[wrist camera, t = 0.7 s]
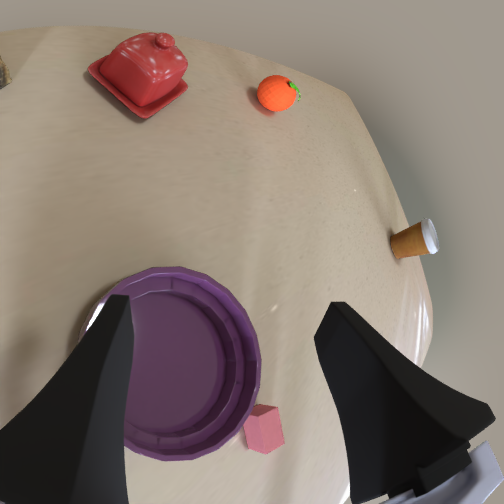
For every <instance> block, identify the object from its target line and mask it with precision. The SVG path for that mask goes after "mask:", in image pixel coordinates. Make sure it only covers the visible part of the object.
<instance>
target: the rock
mask: <svg viewBox="0 0 504 504" xmlns="http://www.w3.org/2000/svg"><path fill="white" fill-rule="evenodd" d="M11 80H12V79H11V78H10V77H9V70H8V69H7V67H6V65H5V64H4V62H3V61H2V59H1V56H0V89H1V88H2V87H4V86H5V85H7V84H8V83H11Z"/></svg>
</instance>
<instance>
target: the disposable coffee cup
mask: <svg viewBox="0 0 504 504" xmlns="http://www.w3.org/2000/svg"><path fill="white" fill-rule="evenodd" d="M390 242H391V248H392V251H393V253H394V255H395V257H396V258H404V257H411V256H417V255H423V254H428V253H431V254H432V253H433V254H435V252H437V251H438V250H439V243H438V238H437V234H436V231H435V228H434V225H433V223H432V221H431V220H430V219H425V218H424V219H423V220H422V221H421V222H419V223H417V224H415V225H413V226H411V227H409V228H407V229H405V230H403V231H401V232H399V233H397V234H395V235H393V236H391V239H390Z"/></svg>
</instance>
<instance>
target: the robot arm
mask: <svg viewBox="0 0 504 504" xmlns="http://www.w3.org/2000/svg"><path fill="white" fill-rule="evenodd" d="M134 336H135V335H134V329H133V322H132V314H131V306H130V297H129V295H119V294H111V295H110V296H109V298H108V299H107V301H106V302H105V304H104V306H103V307H102V309H101V310H100V312H99V314H98V315H97V317H96V318H95V320H94V321H93V323H92V324H91V326H90V327H89V329H88V330H87V332H86V333H85V334H84V336H83V337H82V339H81V340H80V342H79V343H78V345H77V346H76V347H75V349H74V350H73V351H72V353H71V354H70V355H69V357H68V358H67V359H66V361H65V362H64V363H63V365H62V366H61V367H60V369H59V370H58V371H57V372H56V374H55V375H54V376H53V377H52V378H51V380H50V381H49V382H48V383H47V384H46V385H45V387H44V388H43V389H42V390H41V391H40V392H39V393H38V394H37V395H36V396H35V397H34V399H33V400H32V401H31V402H30V403H29V404H28V405H27V406H26V407H25V408H24V409H23V410H22V411H21V412H19V413H18V414H17V415H16V416H15V417H14V418H13V419H12V420H11V421H10V422H9V423H8V424H7V425H5V426H4V427H3V428H2V429H1V430H0V504H129V502H128V495H127V486H126V475H125V460H124V417H125V409H126V401H127V394H128V388H129V381H130V375H131V369H132V363H133V350H134ZM314 341H315V346H316V351H317V355H318V359H319V362H320V365H321V368H322V370H323V373H324V376H325V378H326V381H327V384H328V386H329V389H330V392H331V394H332V397H333V399H334V402H335V405H336V408H337V411H338V414H339V418H340V422H341V426H342V430H343V435H344V440H345V446H346V451H347V458H348V466H349V477H350V498H351V501H352V504H361V503H363V502H367V501H369V500H372V499H375V498H378V497H380V496H382V495H385V494H388V497H389V499H388V500H386V501H384V502H382V503H379V504H483V502H484V501H485V500H486V498H487V497H488V496H489V495H490V494H491V493H492V492H493V490H494V489H495V488H496V487H497V486H498V485H499V484H500V483H501V482H502V481H503V480H504V477H503V474H502V472H501V470H500V468H499V465H498V463H497V460H496V458H495V456H494V454H493V451H492V449H491V447H490V445H489V443H488V441H485V442H483V443H482V444H480V445H479V446H477V447H476V448H474V449H473V450H472V451H471V452H469V453H468V451H467V449H468V448H470V446H471V445H470V443H469V440H470V439H471V438H473V437H475V436H476V435H477V434H479V433H480V432H481V431H483V430H484V429H485V428H487V427H488V426H489V425H490V424H492V423H493V422H494V421H495V419H496V418H495V416H494V414H493V412H492V411H491V409H490V407H489V406H488V404H486V403H484V402H481V401H479V400H476V399H474V398H471V397H469V396H466V395H464V394H462V393H460V392H458V391H456V390H454V389H452V388H450V387H449V386H447V385H445V384H443V383H442V382H440V381H438V380H437V379H435V378H434V377H432V376H431V375H429V374H427V373H426V372H425V371H423V370H422V369H421V368H419V367H418V366H417V365H415V364H414V363H413V362H411V361H410V360H409V359H408V358H406V357H405V356H404V355H403V354H402V353H400V352H399V351H398V350H397V349H396V348H395V347H393V346H392V345H391V344H390V343H389V342H388V341H387V340H386V339H385V338H384V337H382V336H381V335H380V334H379V333H378V332H377V331H376V330H375V329H374V328H373V327H372V326H371V325H370V324H369V323H368V322H367V321H366V320H364V319H363V318H362V317H361V316H360V315H359V314H358V313H357V312H356V311H355V310H354V309H353V308H351V307H350V306H349V305H348V304H347V303H346V302H331V303H330V305H329V307H328V309H327V311H326V313H325V316H324V318H323V320H322V322H321V324H320V326H319V328H318V330H317V332H316V334H315V336H314Z"/></svg>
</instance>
